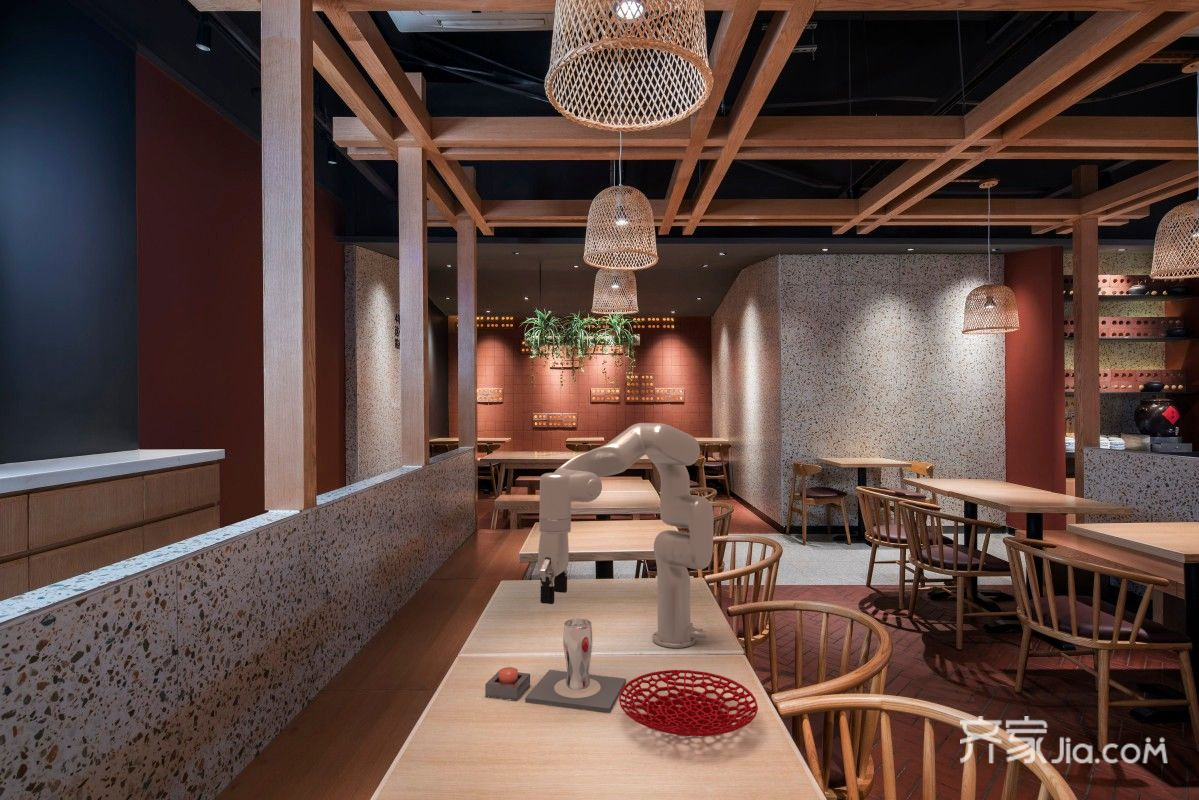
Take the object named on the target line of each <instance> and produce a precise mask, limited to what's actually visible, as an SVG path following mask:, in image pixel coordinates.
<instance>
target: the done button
mask: <svg viewBox="0 0 1199 800" xmlns="http://www.w3.org/2000/svg"><path fill="white" fill-rule="evenodd" d="M498 671H499V683H506V684H515V683H516V682H517V681H518V672H519V670H518V669H517V667H512V666H509V667H508V666H507V667H504V668H500V669H499V670H498Z"/></svg>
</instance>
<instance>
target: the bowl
mask: <svg viewBox="0 0 1199 800" xmlns="http://www.w3.org/2000/svg"><path fill="white" fill-rule="evenodd" d="M680 674H684V675H680ZM687 674H691V675H690V676H687ZM661 675H663V676H661ZM696 675H699V676H696ZM653 676H657V677H658V678H657V679H656V678H654V677H653ZM674 676H676V677H674ZM649 677H650V678H649ZM646 678H649V679H646ZM714 678H716V679H719V680H715V679H714ZM679 680H683V682H681V681H679ZM686 680H687V681H690V682H691V683H689V682H687V681H686ZM706 680H707V681H709V682H707V681H706ZM696 681H701V682H700V683H699V682H698V683H696ZM724 681H725V682H724ZM651 682H653V683H651ZM659 682H663V683H665V684H666V686H658V683H659ZM634 683H636V684H634ZM633 684H634V685H633ZM642 684H648V687H642V686H641V685H642ZM731 684H732V685H734V686H735V687H734V686H730V685H731ZM628 687H630V688H629V689H628ZM679 687H683V688H679ZM708 687H712V688H714V689H708ZM637 688H638V689H637ZM651 688H655V690H652V689H651ZM689 688H691V689H689ZM695 688H702V689H704V690H703V691H702V692H700V691H697V690H695ZM726 688H727V689H726ZM718 689H719V690H721V689H722V691H721V692H720V693H719V692H718V691H717V690H718ZM739 689H742V691H740V692H739V691H737V690H739ZM671 691H675V692H677V693H675V692H671ZM624 692H626V693H624ZM659 692H667V695H659V694H658V693H659ZM645 693H649V694H648V695H646V694H645ZM686 694H688V695H686ZM708 694H711V695H715V696H716V698H714V697H710V696H708ZM725 694H731V695H732V696H729V697H725V696H724V695H725ZM622 697H623V698H624V699H623V698H622ZM639 697H642V698H644V699H641V698H639ZM749 697H751V700H748V699H747V698H749ZM652 698H655V699H656V700H651V699H652ZM627 699H628V700H629V701H628V700H627ZM741 699H743V700H744V701H740V700H741ZM618 701H619V707H620V708H621V709H622V710H623V712H624V714H625V715H626V716H627V717H629V718H630V719H632V720H633V721H634V722H636V723H638V724H640V725H642V726H644V727H646V728H648V729H651V730H655V731H658V732H661V733H665V734H671V735H676V736H683V737H708V736H711V737H712V736H720V735H723V734H728V733H733V732H734V731H738V730H740V729H742V728H743V727H746V726H748V725H749V724H750V723H751V722H752V721H753V720H754V719H755V718H756V715H757V713H758V711H759V706H758V703H757V698H756V697H755V695H754V694H753V692H751V691H750V690H749V689H748V688H746V687H745V686H744V685H743V684H740V683H739V682H737V681H735V680H734V679H732V678H728V677H726V676H722V675H719V674H716V673H712V672H707V671H699V670H691V669H690V670H689V669H669V670H668V669H667V670H657V671H651V672H648V673H646V674H642V675H639V676H637V677H635V678H633V679H631V680H629V681H628V682H626V684H625V686H623V688H622V690H621V691H620V695H619V697H618ZM729 702H736V705H734V706H732V705H731V706H729V705H727V704H726V703H729ZM623 703H624V704H623ZM636 703H638V704H636ZM753 703H754V705H753ZM751 705H753V706H751ZM741 706H744V707H741ZM739 707H740V708H739ZM639 710H642V711H643V712H645V713H641V712H640V711H639ZM734 711H736V713H730V712H734ZM746 713H748V714H746Z"/></svg>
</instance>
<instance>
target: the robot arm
mask: <svg viewBox="0 0 1199 800" xmlns="http://www.w3.org/2000/svg"><path fill="white" fill-rule="evenodd" d="M700 453H701V447H700V444H699V441H698V440H697V438H696V437H695V436H693V435H691V434H689V433H687V432H684V431H682V430H680V429H678V428H676V427H674V426H672V425H669V424H666V423H664V422H662V423H658V422H655V423H654V422H638V423H635V424H632V425H630V426H629V427H628V428H626V429H625V430H623V431H622V432H621V433H619V434H618V435H617V436H616V437H614V438H612V439H611V440H610V441H608V443H606V444H604V445H601V446H599V447H596V448H593V449H592V450H588V451H587V452H584V453H581V454H579V455H577V456H576V455H575V457H573V458H571V459H569V460H567V461H566V462H564V463H563V464H561V465H560V466H559V467H558V468H557V469H556V470H555V471H554V472H546V473H544V474H541V476H540V479H539V511H538V512H539V514H538V515H539V519H538V520H539V522H538V523H539V524H538V526H539V529H538V530H539V531H538V532H539V533H540V535H539V542H538V551H537V552H538V554H537V570H536V571H537V574H538V576H540V577H539V580H540V584H539V586H540V597H539V598H540V603H541V604H544V605H545V604H546V605H554V604H555V593H563V594H564V593H565V594H566V593H567V592H568V573H569V572H568V567H569V559H570V557H569V555H570V554H569V549H570V548H569V533H570V532H572V531H571V530H572V526H571V525H572V503H573V502H575V503H577V502H578V503H590V502H593V501H594V500H596V499H597V498H599V496H600V495H601V493H602V491H603V482H602V480H601V478H603V477H608V476H614V475H618V474H620V473H624V472H625V471H626V470H627V469H629V468H630V467H631V466H632V465H634V464H635V463H637V462H638V461H639V460H640V459H641V458H643V457H644V456H646V458H648V459H649V461H650V462H651V463H652V464H653V465H654V467H655V468H656V469H657V472H658V474H659V478H660V492H659V493H660V497H659V498H660V499H659V500H660V501H659V502H660V504H659V514H660V515H659V517H660V519H661V521H662V522H663V524H665V525H668V526H670V527H676V528H682V529H683V528H684V529H688V530H689V532H685V531H680V530H679V531H678V530H671V529H670V530H663V531H660V532H659V533H658V534H657V535H656V537H655V538H654V541H653V553H654V554H653V555H654V558H655V563H656V572H657V573H656V575H657V577H656V579H657V590H656V591H657V630H656V631H655V632H653V634H652V635H651V636H652V641H653V643H654V644H657V645H659V646H661V647H666V648H670V649H671V648H673V649H681V648H687V647H691V646H693V645H694V644H696V642H697V638H700V639H707V631H706V630H704V629H703V628H695V627H693V626H694V624H693V622H691V620H692V619H691V576H690V573H689V571H688V569H687V568H689V569H692V570H704V569H706V568H708V566H709V565H710V563H711V561H712V558H713V551H714V522H715V521H714V519H715V518H714V514H715V513H714V508H713V506H712V503H711V502H710V501H709V500H708V499H707V498H706V497H704V496H701V495H695V494H694V495H693V494H691V484H690V483H691V482H690V478H691V477H690V474H689V472H688V469H687V467H686V466H692V465H693V464H695V463H696V462H697V461H698V459H699V458H700Z"/></svg>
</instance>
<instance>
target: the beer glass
mask: <svg viewBox="0 0 1199 800" xmlns="http://www.w3.org/2000/svg"><path fill="white" fill-rule="evenodd" d="M563 625H564V626H563V633H562V634H563V636H562V638H563V641H562V643H563V645H562V646H563V655H564V660H565V667H566V672H567V677H566V683H565V687H566V689H567V690H569V691H573V692H582V691H586V690H588V689H589V688H590V687H591V682H590V677H589V674H590V663H591V658H592V653H593V627H592V621H591V620H590V619H586V618H570V619H568V620H566V621H564V623H563Z"/></svg>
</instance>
